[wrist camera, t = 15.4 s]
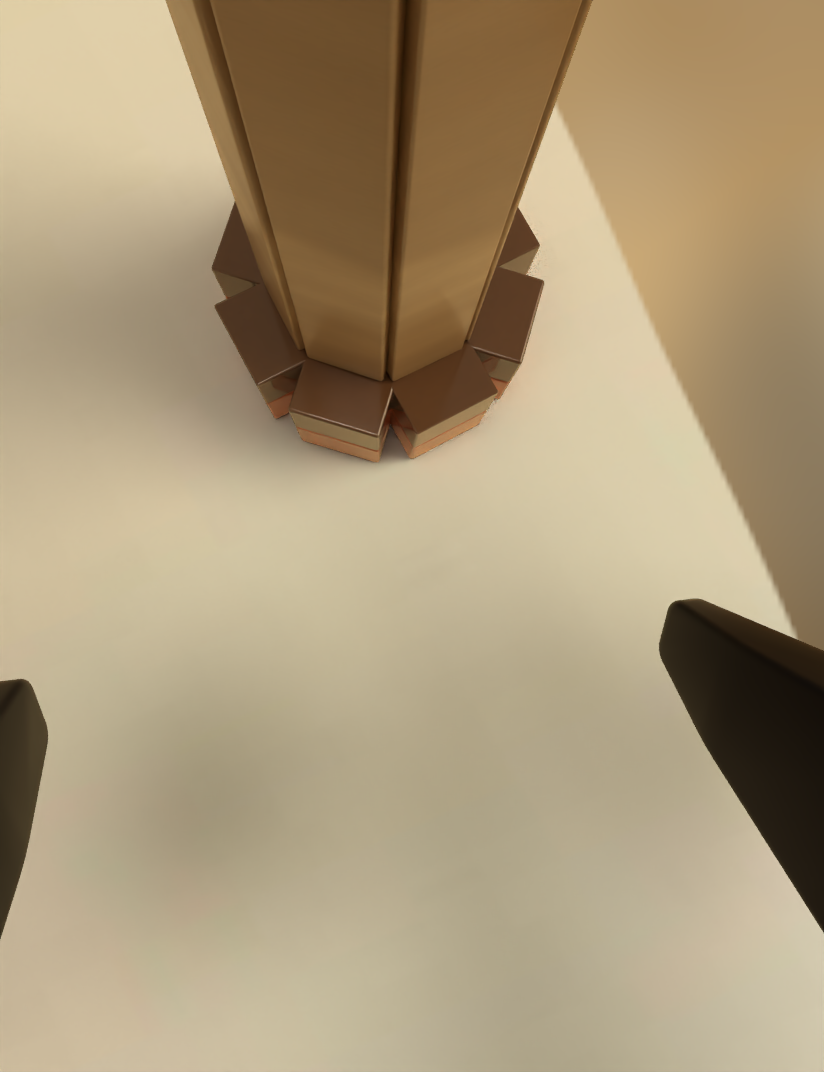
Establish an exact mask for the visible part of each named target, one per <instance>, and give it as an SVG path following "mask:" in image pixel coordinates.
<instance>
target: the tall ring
mask: <svg viewBox="0 0 824 1072" xmlns="http://www.w3.org/2000/svg"><path fill="white" fill-rule="evenodd" d="M592 1H593V0H166V3H167V6H168V9H169V12H170V15H171V17H172V20H173V23H174V26H175V29H176V32H177V35H178V38H179V40H180V43H181V46H182V49H183V52H184V55H185V58H186V61H187V63H188V66H189V69H190V72H191V75H192V78H193V81H194V84H195V87H196V89H197V92H198V95H199V98H200V101H201V104H202V107H203V110H204V112H205V115H206V118H207V121H208V124H209V127H210V130H211V133H212V135H213V138H214V141H215V144H216V147H217V150H218V153H219V156H220V159H221V161H222V164H223V167H224V170H225V173H226V176H227V179H228V182H229V184H230V187H231V190H232V193H233V196H234V199H235V202H236V205H237V207H238V210H239V213H240V216H241V219H242V222H243V225H244V228H245V231H246V233H247V236H248V239H249V242H250V245H251V248H252V251H253V254H254V256H255V259H256V262H257V265H258V268H259V271H260V274H261V277H262V279H263V282H264V285H265V287H266V289H267V291H268V293H269V295H270V296H271V298H272V300H273V302H274V304H275V306H276V308H277V310H278V312H279V314H280V316H281V318H282V320H283V322H284V324H285V326H286V327H287V329H288V331H289V333H290V335H291V337H292V339H293V341H294V343H295V345H296V347H297V349H299V350H302V349H304V348H305V350H306V354H307V356H308V357H309V358H311V359H314V360H317V361H320V362H323V363H326V364H329V365H332V366H335V367H338V368H341V369H345V370H348V371H351V372H354V373H357V374H360V375H363V376H366V377H369V378H372V379H375V380H378V381H382V380H383V379H384V377H385V374H386V371H387V372H388V374H389V376H390V378H391V380H392V381H396V380H398V379H400V378H402V377H404V376H406V375H408V374H410V373H412V372H414V371H416V370H419V369H421V368H423V367H425V366H427V365H429V364H431V363H433V362H435V361H437V360H439V359H441V358H444V357H446V356H448V355H450V354H452V353H454V352H456V351H458V350H460V349H462V347H463V344H464V341H465V340H469V339H470V337H471V334H472V332H473V329H474V326H475V323H476V321H477V318H478V315H479V312H480V310H481V307H482V304H483V301H484V299H485V296H486V293H487V290H488V287H489V285H490V282H491V279H492V276H493V274H494V271H495V268H496V265H497V263H498V260H499V257H500V254H501V252H502V249H503V246H504V243H505V241H506V238H507V235H508V232H509V230H510V227H511V224H512V221H513V219H514V216H515V213H516V210H517V207H518V205H519V202H520V199H521V196H522V194H523V191H524V188H525V185H526V183H527V180H528V177H529V174H530V172H531V169H532V166H533V163H534V161H535V158H536V155H537V152H538V150H539V147H540V144H541V141H542V138H543V136H544V133H545V130H546V127H547V125H548V122H549V119H550V116H551V114H552V111H553V108H554V105H555V103H556V100H557V97H558V94H559V92H560V89H561V86H562V83H563V81H564V78H565V75H566V72H567V69H568V67H569V64H570V61H571V58H572V56H573V53H574V50H575V47H576V45H577V42H578V39H579V36H580V34H581V30H582V28H583V25H584V23H585V20H586V17H587V14H588V12H589V9H590V6H591V3H592Z"/></svg>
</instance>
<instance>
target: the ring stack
mask: <svg viewBox="0 0 824 1072" xmlns="http://www.w3.org/2000/svg"><path fill="white" fill-rule="evenodd" d="M539 246H540V244H539V242H538V241H537V239H536V237H535V236H534V234H533V232H532V230H531V229H530V227H529V225H528V224H527V222H526V220H525V218H524V217H523V215H522V213H521V211H520V210H519V208H518V207H517V210H516V213H515V216H514V219H513V221H512V224H511V227H510V230H509V232H508V235H507V238H506V241H505V243H504V246H503V249H502V252H501V254H500V257H499V260H498V263H497V265H496V268H495V271H494V274H493V276H492V279H491V282H490V285H489V287H488V290H487V293H486V296H485V299H484V301H483V304H482V307H481V310H480V312H479V315H478V318H477V321H476V323H475V326H474V329H473V332H472V334H471V337H470V339H469V340H465V341H464V344H463V347H462V349H460V350H458V351H456V352H454V353H452V354H450V355H448V356H446V357H444V358H441V359H439V360H437V361H435V362H433V363H431V364H429V365H427V366H425V367H423V368H421V369H419V370H416V371H414V372H412V373H410V374H408V375H406V376H404V377H402V378H400V379H398V380H396V381H392V380H391V378H390V376H389V374H388V372H387V371H386V374H385V377H384V379H383V380H382V381H378V380H375V379H372V378H369V377H366V376H363V375H360V374H357V373H354V372H351V371H348V370H345V369H341V368H338V367H335V366H332V365H329V364H326V363H323V362H320V361H317V360H314V359H311V358H309V357H308V356H307V354H306V350H305V348H304V349H302V350H299V349H297V347H296V345H295V343H294V341H293V339H292V337H291V335H290V333H289V331H288V329H287V327H286V326H285V324H284V322H283V320H282V318H281V316H280V314H279V312H278V310H277V308H276V306H275V304H274V302H273V300H272V298H271V296H270V295H269V293H268V291H267V289H266V287H265V285H264V282H263V279H262V277H261V274H260V271H259V268H258V265H257V262H256V259H255V256H254V254H253V251H252V248H251V245H250V242H249V239H248V236H247V233H246V231H245V228H244V225H243V222H242V219H241V216H240V213H239V210H238V207H237V205H236V202H235V203H234V206H233V208H232V211H231V214H230V217H229V220H228V223H227V225H226V228H225V231H224V234H223V237H222V240H221V243H220V245H219V248H218V251H217V254H216V257H215V260H214V262H213V265H212V271H213V273H214V275H215V277H216V279H217V281H218V283H219V285H220V287H221V289H222V291H223V293H224V295H225V296H226V300H224V301H222V302H220V303H218V304H216V305H215V309H216V311H217V313H218V315H219V317H220V318H221V320H222V322H223V324H224V326H225V328H226V330H227V331H228V333H229V335H230V337H231V339H232V341H233V343H234V344H235V346H236V348H237V350H238V352H239V354H240V355H241V357H242V359H243V361H244V363H245V365H246V367H247V368H248V370H249V372H250V374H251V376H252V378H253V380H254V381H255V383H256V385H257V387H258V389H259V391H260V393H261V394H262V396H263V398H264V400H265V402H266V404H267V405H268V407H269V409H270V411H271V413H272V415H273V416H274V418H275V419H277V418H279V417H281V416H283V415H285V414H287V413H290V415H291V417H292V419H293V422H294V424H295V426H296V428H297V431H298V433H299V435H300V437H301V439H302V440H303V441H306V442H309V443H313V444H316V445H319V446H323V447H326V448H329V449H333V450H336V451H339V452H343V453H346V454H349V455H353V456H356V457H359V458H363V459H366V460H369V461H373V462H378V461H379V460H380V456H381V453H382V450H383V446H384V443H385V440H386V437H387V433H388V430H389V427H390V424H391V426H392V427H393V429H394V431H395V433H396V435H397V436H398V438H399V440H400V442H401V444H402V445H403V447H404V449H405V451H406V453H407V455H408V456H409V458H410V459H414V458H416V457H418V456H420V455H421V454H423V453H425V452H427V451H429V450H431V449H433V448H435V447H437V446H439V445H440V444H442V443H444V442H446V441H448V440H450V439H452V438H454V437H456V436H458V435H460V434H461V433H463V432H465V431H467V430H469V429H471V428H473V427H475V426H477V425H478V424H479V423H480V421H481V419H482V418H483V416H484V414H485V413H486V411H487V410H488V409H489V407H490V405H491V403H492V402H493V400H494V398H496V399H499V398H500V397H501V396H502V394H503V392H504V391H505V389H506V387H507V386H508V384H509V383H510V381H511V380H512V378H513V376H514V375H515V373H516V371H517V370H518V368H519V367H520V365H521V363H522V361H523V357H524V354H525V350H526V347H527V343H528V339H529V336H530V332H531V329H532V325H533V322H534V318H535V315H536V311H537V307H538V304H539V300H540V297H541V293H542V290H543V286H544V281H543V280H541V279H537V278H534V277H531V276H528V275H526V274H527V272H528V270H529V268H530V266H531V264H532V262H533V259H534V257H535V255H536V253H537V251H538V249H539Z"/></svg>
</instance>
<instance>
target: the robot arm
mask: <svg viewBox="0 0 824 1072" xmlns="http://www.w3.org/2000/svg"><path fill="white" fill-rule="evenodd" d="M659 651H660V656H661V659H662V661H663V663H664V665H665V667H666V669H667V671H668V673H669V675H670V677H671V679H672V681H673V683H674V685H675V687H676V689H677V691H678V693H679V695H680V697H681V699H682V701H683V703H684V705H685V707H686V709H687V711H688V713H689V715H690V717H691V719H692V721H693V723H694V725H695V727H696V729H697V731H698V733H699V735H700V737H701V738H702V740H703V742H704V744H705V746H706V747H707V749H708V751H709V752H710V754H711V756H712V757H713V759H714V761H715V762H716V764H717V765H718V767H719V769H720V770H721V772H722V773H723V775H724V776H725V778H726V780H727V781H728V783H729V784H730V786H731V787H732V789H733V791H734V792H735V794H736V795H737V797H738V798H739V800H740V802H741V803H742V805H743V806H744V808H745V809H746V811H747V813H748V814H749V816H750V817H751V819H752V821H753V822H754V824H755V825H756V827H757V828H758V830H759V832H760V833H761V835H762V836H763V838H764V839H765V841H766V843H767V844H768V846H769V847H770V849H771V850H772V852H773V854H774V855H775V857H776V858H777V860H778V861H779V863H780V865H781V866H782V868H783V869H784V871H785V872H786V874H787V876H788V877H789V879H790V880H791V882H792V884H793V885H794V887H795V888H796V890H797V891H798V893H799V895H800V896H801V898H802V899H803V901H804V902H805V904H806V906H807V907H808V909H809V910H810V912H811V913H812V915H813V917H814V918H815V920H816V921H817V923H818V924H819V926H820V928H821V929H822V931H823V932H824V651H823V650H820V649H818V648H816V647H813V646H811V645H808V644H806V643H804V642H801V641H799V640H797V639H794V638H792V637H790V636H787V635H785V634H782V633H780V632H778V631H775V630H773V629H771V628H768V627H766V626H763V625H761V624H759V623H756V622H754V621H752V620H749V619H747V618H744V617H742V616H740V615H737V614H735V613H733V612H730V611H728V610H726V609H723V608H721V607H718V606H716V605H714V604H711V603H709V602H707V601H704V600H702V599H687V600H678V601H675V602H673V603H672V604H671V605H670V606H669V608H668V611H667V615H666V619H665V623H664V627H663V631H662V634H661V638H660V643H659ZM47 744H48V730H47V725H46V722H45V719H44V716H43V714H42V711H41V708H40V706H39V703H38V700H37V698H36V695H35V692H34V690H33V688H32V686H31V684H30V683H29V682H28V681H27V680H24V679H16V680H8V681H0V939H1V935H2V932H3V929H4V926H5V923H6V919H7V916H8V913H9V910H10V907H11V904H12V900H13V897H14V894H15V891H16V888H17V884H18V881H19V878H20V874H21V871H22V867H23V864H24V860H25V857H26V852H27V848H28V843H29V838H30V833H31V828H32V823H33V817H34V812H35V807H36V802H37V796H38V791H39V786H40V781H41V776H42V770H43V765H44V760H45V755H46V749H47Z"/></svg>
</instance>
